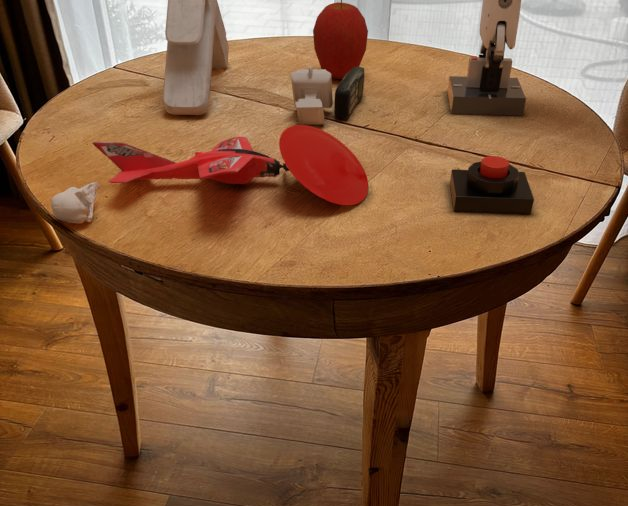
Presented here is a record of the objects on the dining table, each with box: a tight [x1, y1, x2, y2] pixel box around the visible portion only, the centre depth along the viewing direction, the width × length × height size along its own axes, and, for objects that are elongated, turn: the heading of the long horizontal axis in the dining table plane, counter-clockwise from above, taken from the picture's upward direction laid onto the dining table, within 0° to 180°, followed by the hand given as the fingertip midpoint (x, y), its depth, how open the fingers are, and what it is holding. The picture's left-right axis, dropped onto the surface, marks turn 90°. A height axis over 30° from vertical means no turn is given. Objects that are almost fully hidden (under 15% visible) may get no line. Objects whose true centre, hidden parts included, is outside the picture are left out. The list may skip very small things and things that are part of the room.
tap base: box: [447, 75, 527, 117], centre depth 117 cm, size 12×11×3 cm
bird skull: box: [50, 181, 101, 224], centre depth 87 cm, size 6×8×4 cm
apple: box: [312, 0, 369, 80], centre depth 124 cm, size 10×10×14 cm
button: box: [480, 155, 510, 179], centre depth 88 cm, size 4×4×2 cm
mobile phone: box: [333, 66, 365, 119], centre depth 116 cm, size 5×3×15 cm
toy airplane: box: [91, 136, 290, 187], centre depth 92 cm, size 27×27×5 cm
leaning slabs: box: [161, 0, 230, 116], centre depth 120 cm, size 8×25×23 cm
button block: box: [449, 160, 535, 215], centre depth 90 cm, size 10×8×4 cm
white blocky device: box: [290, 65, 334, 126], centre depth 110 cm, size 9×7×8 cm
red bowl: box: [278, 124, 369, 206], centre depth 92 cm, size 14×14×6 cm
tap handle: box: [466, 55, 514, 88], centre depth 114 cm, size 7×2×5 cm, turn 85°
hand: (486, 83), depth 115 cm, fingers open, 5 cm apart
